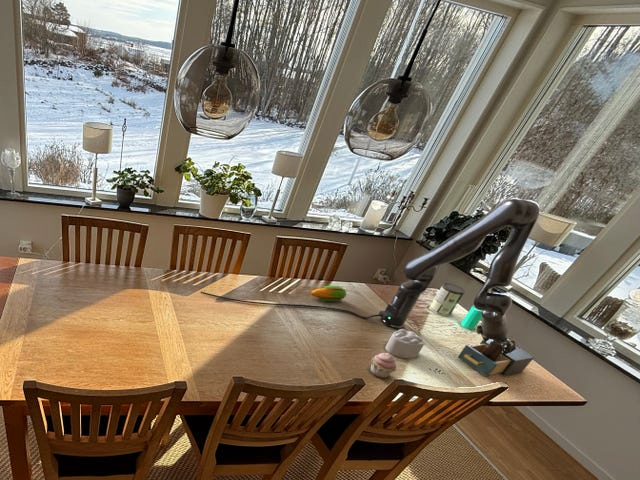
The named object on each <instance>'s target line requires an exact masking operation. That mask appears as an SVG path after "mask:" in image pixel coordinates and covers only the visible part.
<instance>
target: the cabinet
mask: <svg viewBox="0 0 640 480" xmlns="http://www.w3.org/2000/svg"><path fill="white" fill-rule="evenodd" d="M491 341H492V339H489V340H488V341H486V342H484V341H483V339H482V340H481V341H480V342H479V344H484V343H485V344H486V345H489V344H490V342H491ZM501 354H502V355H504V356H505V357H507V358H509V359H510V360H512V361H511V363H510V364H509V365H508V366H507V368H506V369H505V370H504V371H503V372H501V373H498V374H499V375H500V376H502V377H505V376H511V375H516V374H521V373H523V372H524V370H525V369H526V368H527V367H528V366H529V364H530V363H531V362H532V361H533V360H534V359H535V357H534V356H533V355H531V354H530V353H527V352H526V351H525V350H523V349H521V348H520V347H517V346H516V349H515V350H514V351H512V352H511V353H508V354H503V352H502V353H501Z"/></svg>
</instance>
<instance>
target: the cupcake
mask: <svg viewBox="0 0 640 480" xmlns="http://www.w3.org/2000/svg"><path fill="white" fill-rule="evenodd" d="M370 361H371V365H370V373H371V374H372V375H374V376H375V377H377V378H381V379H385V378H387V377H388V376H389V375H391V374H392V373H393V372H395V371H397V366H396V360H395V358H394V355H393V354H391V353H389V352H381V353H378V354H376V355H374V357H373V356H372V357H371V360H370Z"/></svg>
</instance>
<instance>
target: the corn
mask: <svg viewBox="0 0 640 480" xmlns="http://www.w3.org/2000/svg"><path fill="white" fill-rule="evenodd" d="M310 295H311V296H312V297H315V298H318V299H317V301H321V302H340V301H342V300H343V299H344V298H345V297H347V291H346V290H345V289H344V288H343V287H342V286H338V285H324V286H322V288H316V289H313V290H311V292H310Z"/></svg>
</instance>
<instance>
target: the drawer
mask: <svg viewBox="0 0 640 480" xmlns="http://www.w3.org/2000/svg"><path fill="white" fill-rule="evenodd" d="M487 346H488V345H486V344H485V343H484V344H480V343H479V344H472V345H469V344H466V345H465V346H464V347H463V348H462V350H461V352H460V353H459V354H458V355H457V358H458V359H460V360H461V361H462V362H464V363H465V364H466V365H468V366H469V367H471V368H473V369H474V370H475V371H476V372H478V373H480V374H481V375H482V376H484V377H485V378H487V377H489V376H490V375H495V374H499V373H501V372H503V371H504V370H505V369H506V368H507V366H508V365H509V364H510V363H511V361H512V360H510V359H509V358H507V357H505V356H504V355H502V354H500V355H499V357H498V358H497V359H496V361H495V362H493V361H492V360H490V359H489V358H487V357H486V356H484V355H483V354H482V353H483V352H484V350H485V349H486V348H487Z"/></svg>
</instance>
